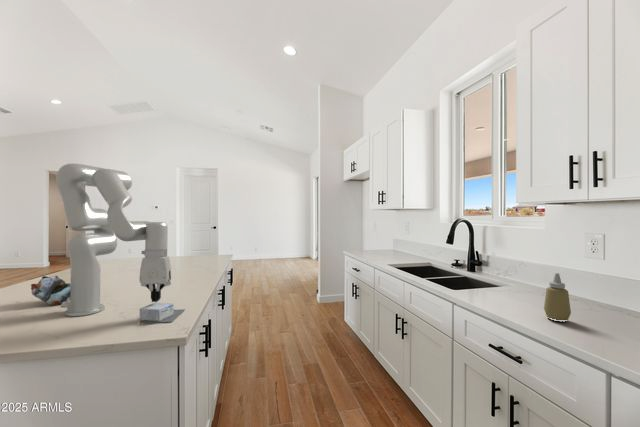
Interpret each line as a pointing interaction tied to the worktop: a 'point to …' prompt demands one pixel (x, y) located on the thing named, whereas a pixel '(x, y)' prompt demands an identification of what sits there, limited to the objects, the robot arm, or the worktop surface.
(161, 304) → the medicine box
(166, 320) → the mat
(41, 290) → the blue crumpled lump
